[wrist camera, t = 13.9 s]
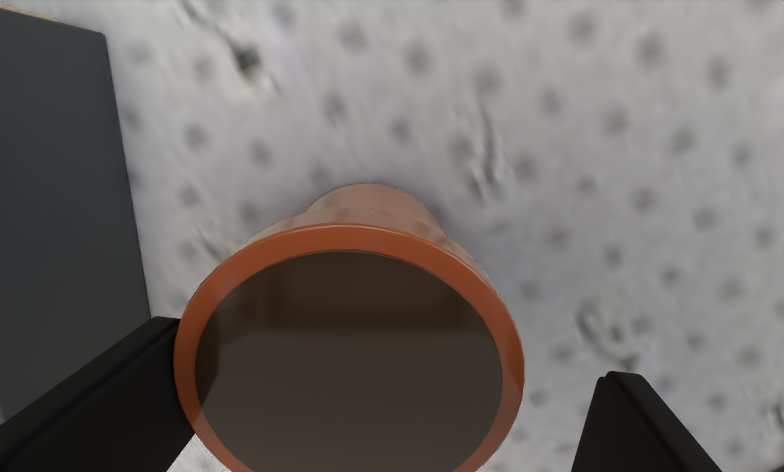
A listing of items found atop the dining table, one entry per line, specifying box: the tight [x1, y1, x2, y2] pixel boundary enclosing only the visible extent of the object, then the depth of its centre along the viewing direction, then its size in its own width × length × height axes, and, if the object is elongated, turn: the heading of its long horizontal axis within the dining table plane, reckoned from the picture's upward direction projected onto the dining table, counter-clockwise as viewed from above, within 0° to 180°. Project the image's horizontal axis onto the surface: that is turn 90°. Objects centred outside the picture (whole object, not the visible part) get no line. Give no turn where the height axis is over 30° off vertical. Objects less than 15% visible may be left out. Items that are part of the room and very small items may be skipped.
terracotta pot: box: [173, 183, 525, 472], centre depth 11 cm, size 7×7×7 cm
